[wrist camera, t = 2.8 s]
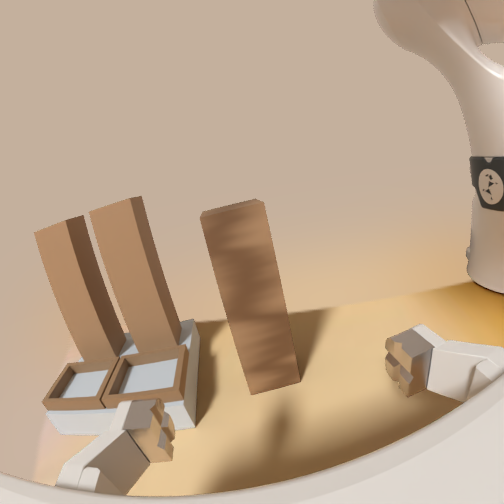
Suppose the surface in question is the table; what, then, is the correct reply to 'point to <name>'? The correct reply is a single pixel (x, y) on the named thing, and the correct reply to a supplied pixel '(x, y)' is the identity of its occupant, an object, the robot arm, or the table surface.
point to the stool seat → (117, 323)
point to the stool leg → (252, 293)
